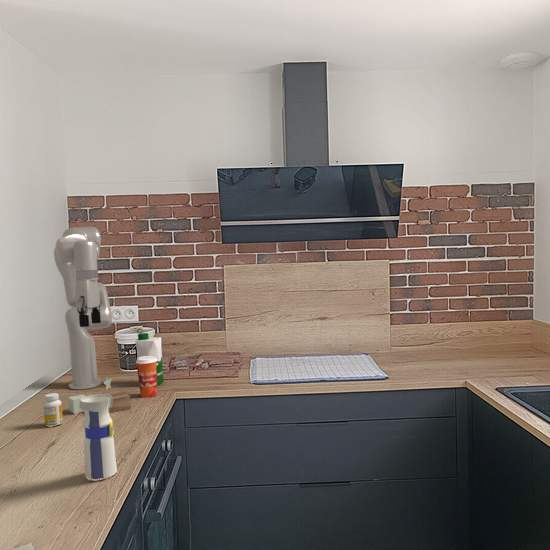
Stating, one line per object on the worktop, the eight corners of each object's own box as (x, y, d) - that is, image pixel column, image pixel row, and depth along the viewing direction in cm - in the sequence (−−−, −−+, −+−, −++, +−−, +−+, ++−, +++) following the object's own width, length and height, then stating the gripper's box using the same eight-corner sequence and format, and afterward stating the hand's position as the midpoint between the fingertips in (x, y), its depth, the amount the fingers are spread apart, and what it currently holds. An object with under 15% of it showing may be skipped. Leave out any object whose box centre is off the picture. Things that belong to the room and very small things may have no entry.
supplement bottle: (57, 421, 200) (54, 391, 199) (66, 423, 196) (64, 393, 195) (41, 425, 195) (39, 395, 195) (51, 428, 192) (48, 397, 191)
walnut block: (92, 410, 211) (91, 395, 211) (120, 404, 217) (119, 390, 216) (102, 416, 203) (100, 401, 203) (130, 410, 209) (130, 395, 208)
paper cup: (138, 399, 221) (135, 360, 220) (137, 394, 228) (134, 356, 227) (160, 396, 223) (158, 358, 222) (158, 391, 230) (156, 354, 229)
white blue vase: (122, 466, 157) (115, 370, 155) (114, 480, 149) (107, 378, 147) (89, 468, 157) (82, 372, 155) (80, 482, 149) (72, 380, 147)
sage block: (69, 411, 210) (68, 397, 210) (83, 408, 213) (82, 394, 213) (74, 414, 206) (73, 400, 206) (89, 411, 209) (87, 397, 209)
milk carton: (145, 381, 247) (142, 332, 246) (166, 381, 246) (163, 331, 244) (136, 387, 239) (132, 335, 237) (158, 387, 237) (154, 335, 236)
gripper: (87, 275, 224) (90, 322, 225) (65, 277, 207) (69, 328, 207) (106, 274, 223) (110, 321, 224) (86, 276, 206) (90, 327, 206)
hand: (90, 324), depth 216 cm, fingers open, 9 cm apart
